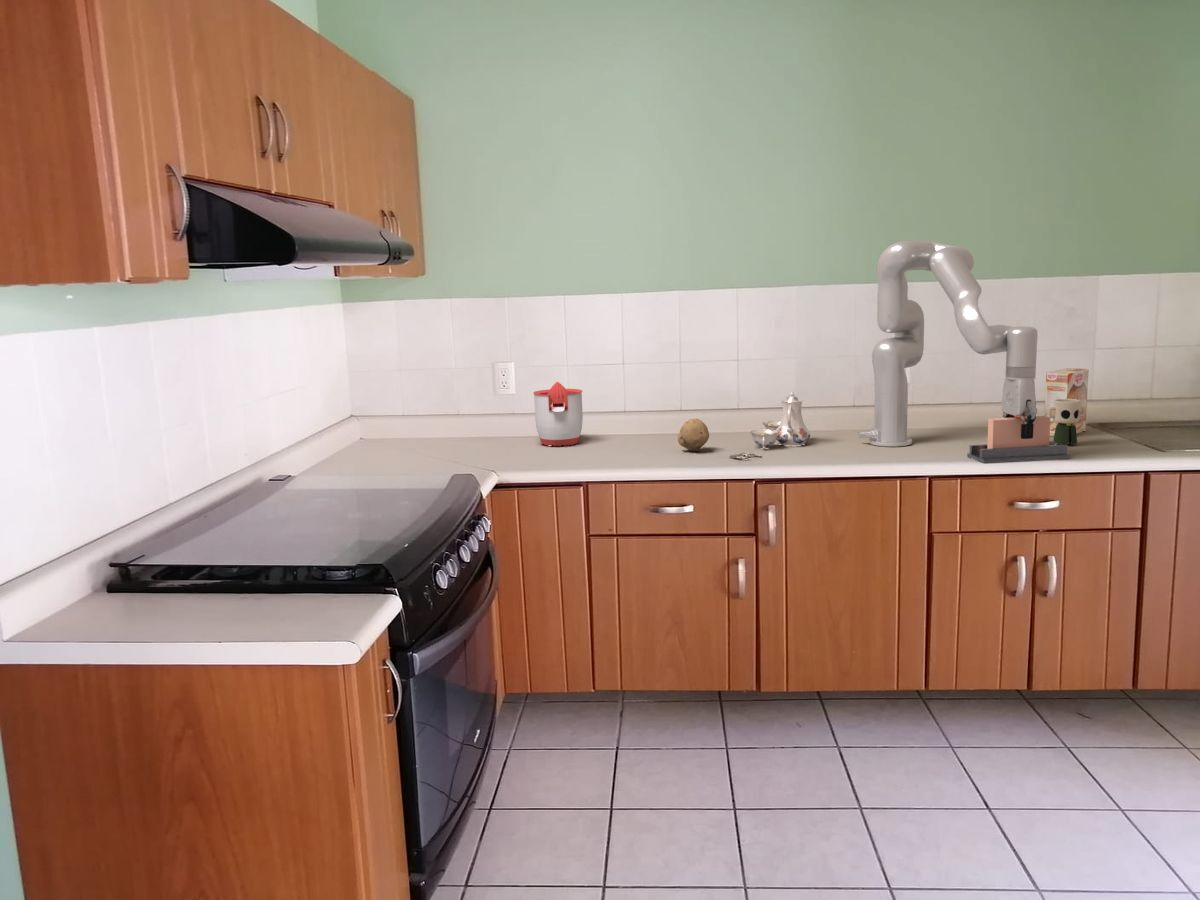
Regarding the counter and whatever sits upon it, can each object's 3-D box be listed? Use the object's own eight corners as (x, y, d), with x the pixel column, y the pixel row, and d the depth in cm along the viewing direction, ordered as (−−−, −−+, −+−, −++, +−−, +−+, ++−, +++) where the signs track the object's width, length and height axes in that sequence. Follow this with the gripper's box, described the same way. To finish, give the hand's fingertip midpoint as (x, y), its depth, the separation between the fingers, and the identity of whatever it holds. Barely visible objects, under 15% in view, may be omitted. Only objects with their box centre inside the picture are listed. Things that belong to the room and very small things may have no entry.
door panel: (992, 456, 278) (993, 420, 276) (987, 454, 281) (988, 418, 279) (1048, 453, 280) (1050, 417, 278) (1043, 451, 282) (1044, 415, 281)
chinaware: (762, 441, 331) (757, 390, 328) (815, 436, 326) (809, 384, 323) (750, 457, 304) (743, 401, 302) (807, 452, 299) (801, 396, 297)
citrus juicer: (534, 450, 319) (531, 386, 316) (536, 440, 336) (533, 380, 333) (585, 448, 320) (582, 384, 316) (584, 439, 337) (581, 378, 333)
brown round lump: (716, 452, 305) (715, 418, 303) (691, 455, 301) (690, 422, 299) (698, 448, 313) (697, 415, 311) (674, 451, 309) (673, 418, 307)
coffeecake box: (1065, 438, 308) (1068, 373, 305) (1042, 435, 313) (1044, 372, 310) (1086, 431, 318) (1089, 368, 315) (1063, 429, 323) (1066, 367, 320)
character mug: (1051, 447, 294) (1053, 402, 291) (1040, 443, 301) (1042, 399, 298) (1089, 446, 294) (1092, 401, 291) (1078, 442, 301) (1080, 398, 298)
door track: (983, 463, 275) (984, 450, 274) (967, 456, 284) (967, 444, 284) (1069, 458, 277) (1070, 446, 276) (1050, 452, 286) (1050, 440, 286)
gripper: (992, 370, 285) (989, 431, 288) (1023, 376, 268) (1020, 441, 271) (1018, 369, 285) (1015, 430, 288) (1050, 375, 268) (1047, 440, 271)
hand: (1017, 435), depth 280 cm, fingers open, 9 cm apart
